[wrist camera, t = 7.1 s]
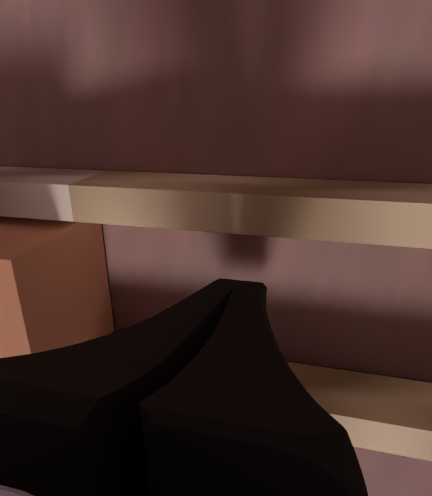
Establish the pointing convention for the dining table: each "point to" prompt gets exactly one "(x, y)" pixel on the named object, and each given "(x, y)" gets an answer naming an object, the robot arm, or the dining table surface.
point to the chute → (263, 224)
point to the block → (51, 285)
